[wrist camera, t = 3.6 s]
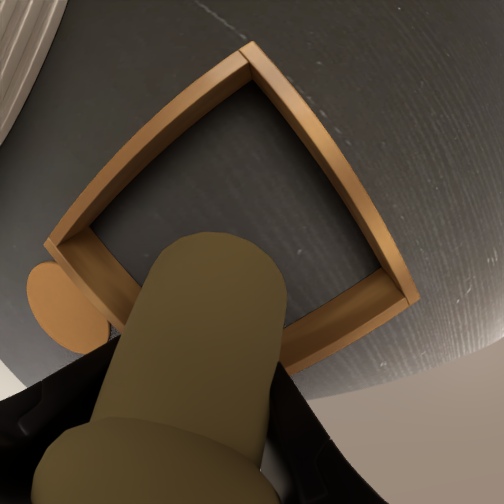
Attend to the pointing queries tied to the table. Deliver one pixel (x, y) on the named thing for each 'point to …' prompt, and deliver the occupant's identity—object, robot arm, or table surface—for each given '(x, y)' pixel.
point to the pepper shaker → (182, 387)
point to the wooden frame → (326, 155)
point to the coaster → (65, 310)
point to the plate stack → (23, 51)
